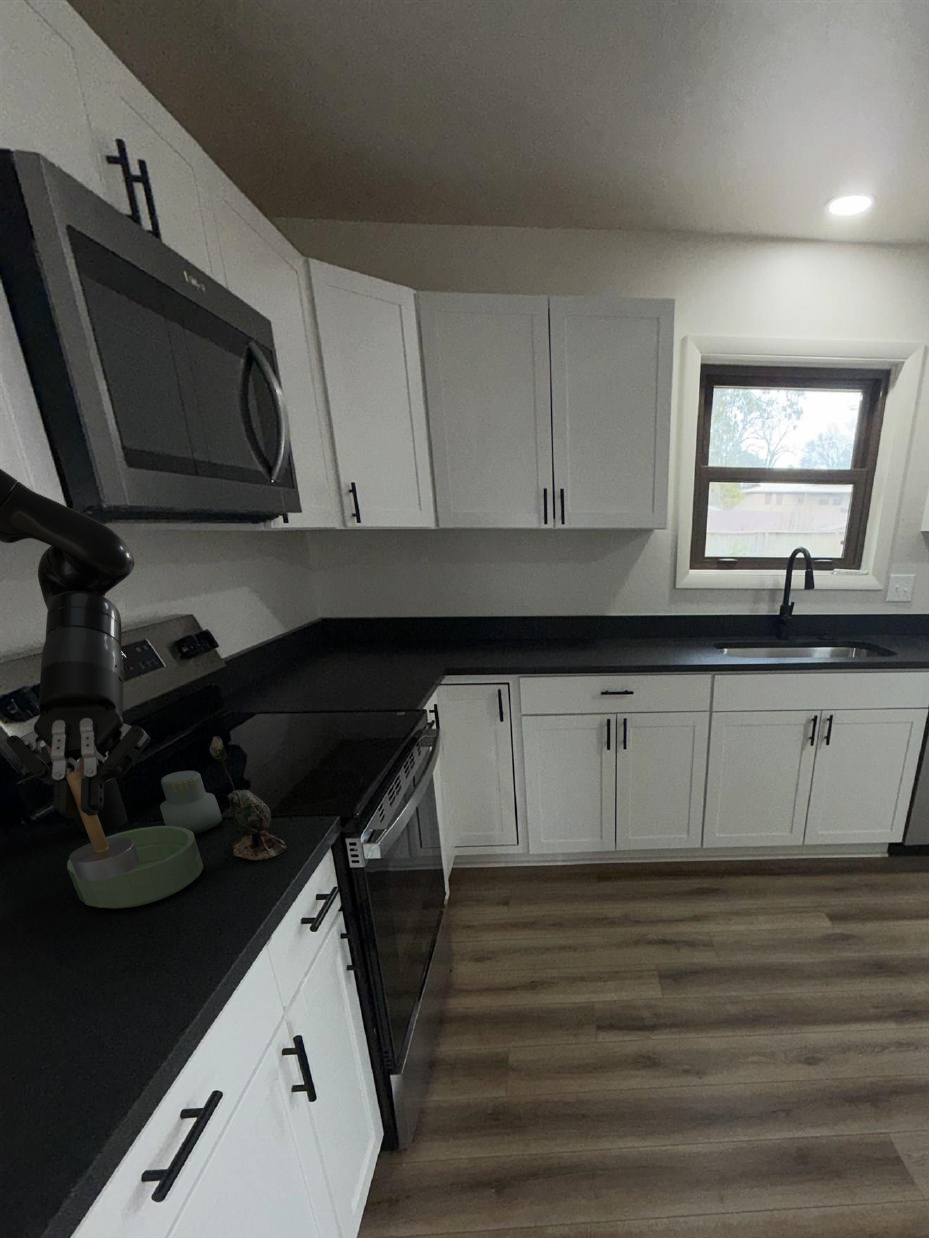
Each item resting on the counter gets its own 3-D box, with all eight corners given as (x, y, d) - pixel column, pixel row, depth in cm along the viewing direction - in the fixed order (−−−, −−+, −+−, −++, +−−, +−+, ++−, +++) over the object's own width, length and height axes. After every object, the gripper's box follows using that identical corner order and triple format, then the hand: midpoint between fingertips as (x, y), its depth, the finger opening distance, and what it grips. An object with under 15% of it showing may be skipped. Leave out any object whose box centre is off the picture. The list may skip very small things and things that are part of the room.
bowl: (63, 921, 89) (47, 884, 87) (103, 867, 103) (90, 834, 100) (191, 901, 94) (180, 865, 91) (213, 852, 107) (203, 820, 105)
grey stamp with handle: (67, 884, 72) (26, 785, 67) (87, 859, 77) (51, 765, 72) (130, 876, 74) (95, 778, 69) (146, 852, 79) (114, 759, 74)
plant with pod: (233, 874, 101) (199, 753, 93) (232, 844, 110) (201, 731, 102) (290, 861, 105) (262, 744, 96) (284, 833, 114) (258, 724, 105)
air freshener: (165, 823, 117) (149, 772, 113) (217, 812, 122) (203, 762, 118) (172, 846, 109) (154, 791, 105) (226, 833, 114) (212, 780, 110)
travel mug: (83, 838, 112) (41, 727, 104) (73, 825, 117) (32, 718, 108) (135, 824, 117) (98, 717, 109) (123, 811, 122) (87, 708, 113)
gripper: (-9, 662, 70) (-22, 810, 65) (136, 654, 74) (136, 793, 69) (31, 698, 77) (23, 834, 72) (162, 689, 81) (164, 817, 76)
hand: (78, 813), depth 70 cm, fingers closed on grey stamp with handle, 1 cm apart
